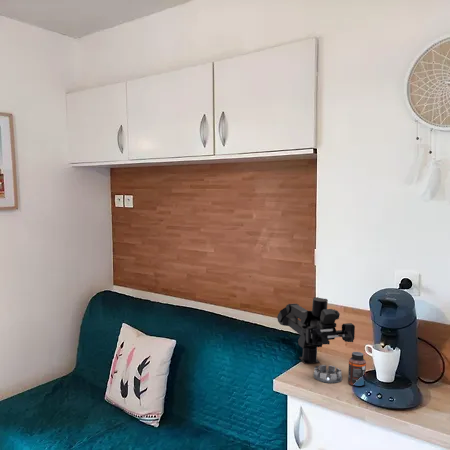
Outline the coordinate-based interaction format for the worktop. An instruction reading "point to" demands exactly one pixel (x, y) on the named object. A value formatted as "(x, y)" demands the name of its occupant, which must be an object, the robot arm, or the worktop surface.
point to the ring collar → (327, 374)
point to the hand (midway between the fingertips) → (341, 341)
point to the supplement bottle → (356, 367)
